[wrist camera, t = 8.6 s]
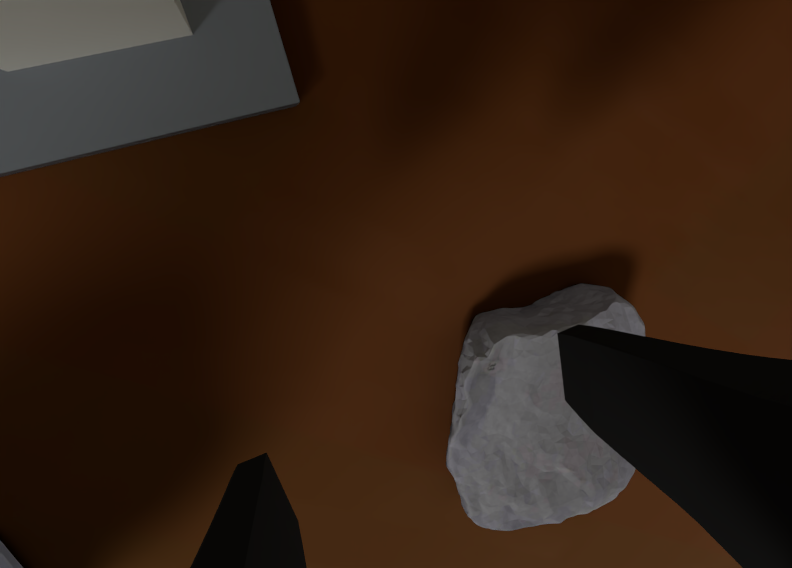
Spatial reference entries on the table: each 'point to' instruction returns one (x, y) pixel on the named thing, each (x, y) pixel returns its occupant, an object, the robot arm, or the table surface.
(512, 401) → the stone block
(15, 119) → the slate tile
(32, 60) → the cube
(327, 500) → the table surface
